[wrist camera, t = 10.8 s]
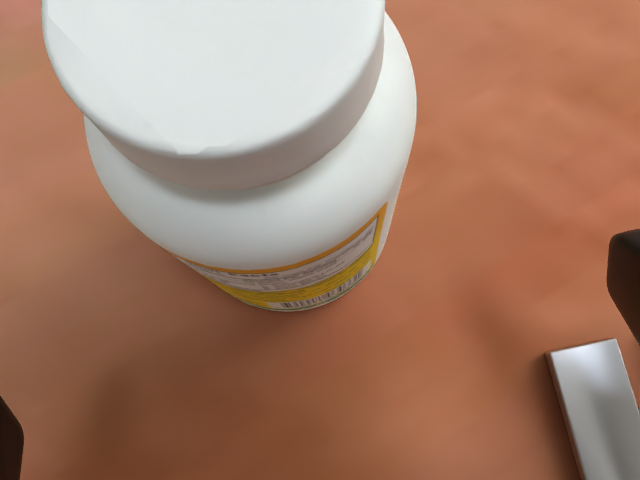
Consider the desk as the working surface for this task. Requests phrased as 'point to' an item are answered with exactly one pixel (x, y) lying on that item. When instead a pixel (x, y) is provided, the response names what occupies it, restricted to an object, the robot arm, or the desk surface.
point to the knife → (598, 409)
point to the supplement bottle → (245, 132)
